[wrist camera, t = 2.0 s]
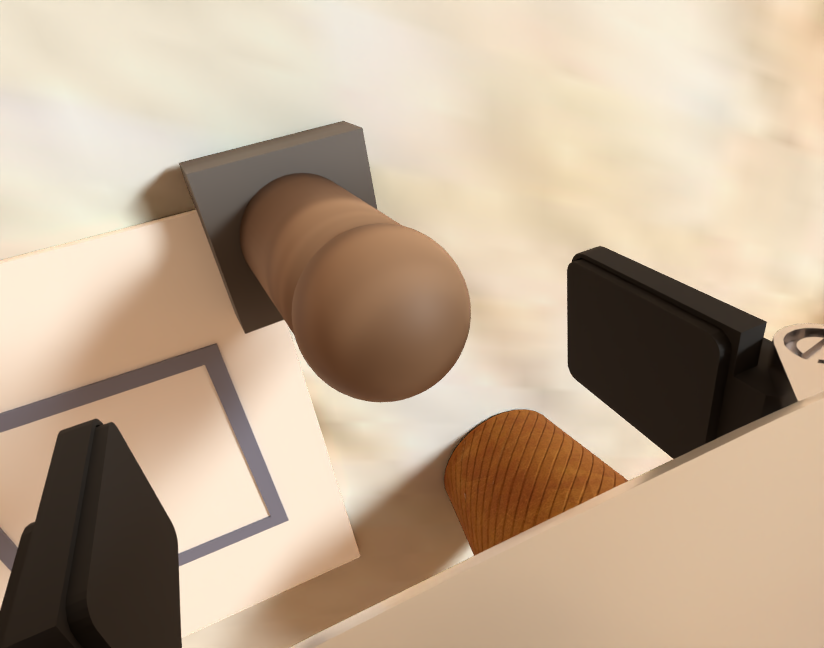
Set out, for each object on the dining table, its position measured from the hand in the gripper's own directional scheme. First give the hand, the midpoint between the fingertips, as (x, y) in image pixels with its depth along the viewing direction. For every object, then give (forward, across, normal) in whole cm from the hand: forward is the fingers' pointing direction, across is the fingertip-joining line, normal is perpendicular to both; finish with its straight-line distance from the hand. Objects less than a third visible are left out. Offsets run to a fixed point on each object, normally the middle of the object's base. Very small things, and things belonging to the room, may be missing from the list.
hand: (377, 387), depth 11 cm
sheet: (+9, +8, +7) cm, 14 cm away
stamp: (+8, 0, -1) cm, 9 cm away
